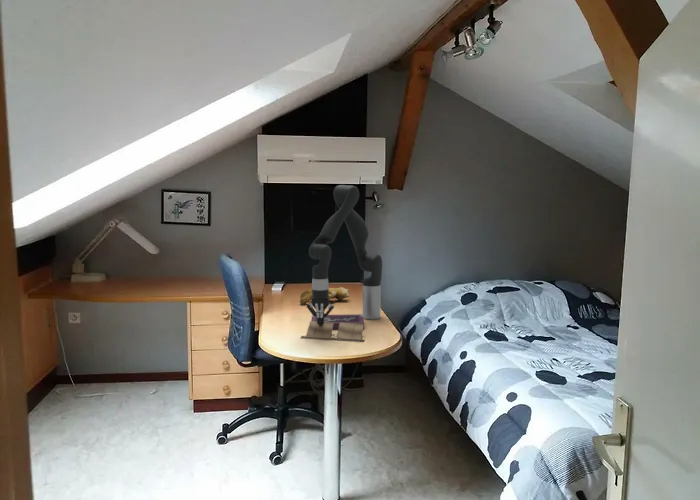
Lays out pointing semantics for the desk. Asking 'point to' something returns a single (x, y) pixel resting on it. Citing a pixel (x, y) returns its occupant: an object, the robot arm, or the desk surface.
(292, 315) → the desk surface
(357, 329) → the plank
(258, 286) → the desk surface
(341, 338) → the strip
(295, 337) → the desk surface
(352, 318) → the purple gear tray
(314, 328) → the plank
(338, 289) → the toy
